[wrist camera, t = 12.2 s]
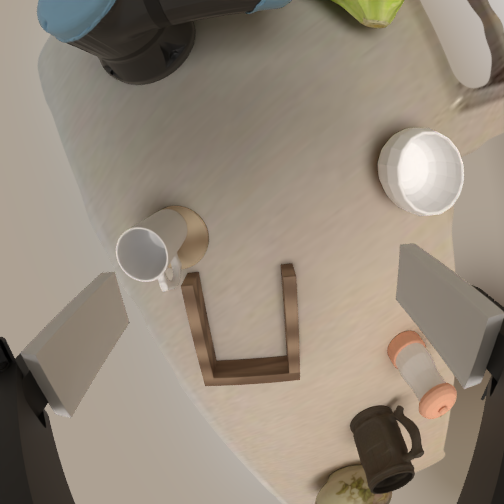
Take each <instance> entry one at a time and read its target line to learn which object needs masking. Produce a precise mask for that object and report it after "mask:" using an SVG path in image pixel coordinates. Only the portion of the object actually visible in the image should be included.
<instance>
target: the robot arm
mask: <svg viewBox="0 0 504 504" xmlns="http://www.w3.org/2000/svg"><path fill="white" fill-rule="evenodd" d="M291 1H292V0H39V1H38V7H37V16H38V20H39V23H40V25H41V27H42V28H43V29H44V30H45V31H46V32H48V33H50V34H51V35H53V36H55V37H56V39H58V40H59V41H61V42H64V43H68V44H70V45H72V46H75V47H77V48H80V49H82V50H84V51H86V52H89V53H91V54H93V55H95V56H98V58H99V60H100V62H101V64H102V66H103V68H104V69H105V70H106V71H107V72H108V73H109V74H110V75H111V76H112V77H114V78H116V79H118V80H120V81H122V82H125V83H128V84H135V85H141V84H148V83H152V82H155V81H158V80H160V79H163V78H164V77H166V76H168V75H169V74H171V73H172V72H174V71H175V70H176V69H177V68H178V67H179V66H180V65H181V64H182V63H183V62H184V61H185V59H186V58H187V57H188V55H189V53H190V51H191V49H192V47H193V44H194V40H195V26H194V23H193V21H195V20H200V19H205V18H211V17H217V16H223V15H229V14H236V13H244V12H245V13H246V14H251V13H254V12H256V11H261V10H270V9H278V8H282V7H284V6H285V5H287V4H288V3H290V2H291ZM396 300H397V301H398V302H399V303H400V305H401V306H402V307H403V308H404V310H405V311H406V312H407V313H408V315H409V316H410V317H411V318H412V320H413V321H414V322H415V323H416V325H417V326H418V327H419V328H420V330H421V331H422V332H423V334H424V335H425V336H426V337H427V339H428V340H429V341H430V343H431V344H432V345H433V347H434V348H435V349H436V351H437V352H438V353H439V355H440V356H441V357H442V359H443V360H444V361H445V363H446V364H447V366H448V367H449V368H450V370H451V371H452V372H453V374H454V375H455V377H456V378H457V380H458V381H459V382H460V384H461V385H462V387H463V388H464V389H466V388H468V387H471V386H473V385H476V384H479V383H481V381H482V378H483V376H484V373H485V371H486V369H487V370H488V371H489V372H490V373H491V375H492V376H491V378H490V380H489V383H488V385H487V387H486V389H485V391H484V394H483V396H482V398H481V399H482V400H483V399H484V398H485V396H486V401H485V406H484V412H483V417H482V422H481V426H480V431H479V435H478V439H477V443H476V447H475V450H474V454H473V458H472V461H471V465H470V468H469V471H468V474H467V477H466V480H465V483H464V486H463V489H462V491H461V494H460V497H459V499H458V502H457V504H504V307H502V306H501V305H500V304H499V303H498V302H496V301H494V299H492V298H491V297H490V296H488V294H486V293H485V292H484V291H483V290H481V289H480V288H478V287H475V286H473V285H471V284H469V283H468V282H466V281H465V280H464V279H462V278H461V277H460V276H459V275H457V274H456V273H455V272H453V271H452V270H451V269H449V268H448V267H447V266H445V265H444V264H443V263H441V262H440V261H438V260H437V259H436V258H434V257H433V256H432V255H430V254H429V253H427V252H426V251H424V250H423V249H422V248H420V247H419V246H417V245H416V244H414V243H412V244H403V245H400V255H399V270H398V282H397V292H396ZM128 324H129V319H128V316H127V313H126V310H125V306H124V303H123V300H122V296H121V293H120V289H119V286H118V283H117V279H116V275H115V272H109V273H101V274H100V275H99V276H98V277H97V278H95V280H93V281H92V282H91V283H90V284H89V285H88V286H87V287H86V288H85V289H84V290H82V291H81V292H80V293H79V294H78V295H77V296H76V297H75V298H74V299H73V300H72V301H71V302H70V303H69V304H68V305H67V306H66V307H65V308H64V309H63V310H62V311H61V312H60V313H59V314H58V315H57V316H56V317H55V318H54V319H53V320H52V321H51V322H50V323H49V324H48V325H47V326H46V327H45V328H44V329H43V330H42V331H41V332H40V333H39V334H38V335H37V336H36V337H35V338H34V339H33V340H32V341H31V342H30V343H29V344H28V345H27V346H26V348H25V349H24V350H23V351H22V352H21V353H20V354H19V355H18V356H17V357H16V359H15V358H14V356H13V354H12V352H11V350H10V348H9V346H8V344H7V342H6V339H5V338H3V337H0V504H75V502H74V500H73V497H72V495H71V492H70V489H69V486H68V484H67V481H66V478H65V475H64V472H63V469H62V465H61V462H60V459H59V456H58V452H57V449H56V445H55V441H54V437H53V433H52V429H51V425H50V420H49V416H48V414H47V412H46V411H45V410H44V408H45V407H46V405H47V403H49V405H50V406H51V408H52V409H53V411H54V412H55V414H57V415H61V416H66V417H70V418H71V417H72V416H73V414H74V412H75V410H76V409H77V407H78V405H79V403H80V402H81V400H82V398H83V397H84V395H85V393H86V391H87V389H88V388H89V386H90V385H91V383H92V381H93V380H94V378H95V376H96V375H97V373H98V371H99V370H100V368H101V367H102V365H103V363H104V362H105V360H106V359H107V357H108V355H109V354H110V352H111V351H112V349H113V347H114V346H115V344H116V343H117V341H118V339H119V338H120V337H121V335H122V333H123V332H124V330H125V329H126V327H127V326H128Z"/></svg>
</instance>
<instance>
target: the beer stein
mask: <svg viewBox="0 0 504 504" xmlns="http://www.w3.org/2000/svg"><path fill="white" fill-rule="evenodd" d="M403 410H404V408H403V407H402V406H399V405H398V406H397V408H396V410H395V411H394V412H392V410H391V409H390V408H389V407H386V406H376V407H371V408H368V409H366V410H364V411H362V412H361V413H359V414H358V415H357V416H356V417H355V418H354V419H353V420H352V422H351V425H350V427H351V431H352V432H353V434H354V441H355V444H356V447H357V450H358V454H359V457H360V461H361V464H362V467H363V469H364V471H365V474H366V478H367V482H368V487H369V489H370V491H371V493H373V494H384V493H388V492H391V491H394V490H396V489H399V488H401V487H403V486H404V485H406V484H407V483H408V482H409V481H411V480H412V479H413V477H414V474H415V473H414V467H413V465H412V464H411V460H412V459H414V458H419V457H421V456H422V455H423V454H424V451H423V449H422V445H421V437H420V432H419V429H418V427H417V426H416V425H415V423H414V422H413V421H411V420H410V419H409V418H407V417H406V416H404V414H403ZM396 420H398V421H399V422H400V423H401V424H402V425H403V426H404V427H405V428H406V429H407V431H408V433H409V434H410V437H411V440H412V449H411V451H410V452H408V449H407V446H406V444H405V441H404V439H403V436H402V434H401V430H400V428H399V426H398V423H397V421H396Z"/></svg>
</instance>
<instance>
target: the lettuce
mask: <svg viewBox="0 0 504 504" xmlns="http://www.w3.org/2000/svg"><path fill="white" fill-rule="evenodd" d="M331 1H333V2H335V3H337V4H339V5H340V6H342V7H343V8H344V9H345V10H346V11H348V12H349V13H350V14H351V15H352V16H353V17H354V18H355V19H356V20H357V21H359V22H360V23H361V24H363V25H365V26H367V27H372V28H384V27H386V26H388V25H389V24H390V23H391V22H392V21H393V19H394V18H395V15H396V13H397V11H398V10H399V8H400V7H401V5H402V4H403V2H404V0H331Z"/></svg>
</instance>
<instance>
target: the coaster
mask: <svg viewBox="0 0 504 504" xmlns="http://www.w3.org/2000/svg"><path fill="white" fill-rule="evenodd" d="M163 209H171V210H174V211H176V212H178V213H179V214H180V215H181V216H182V217H183V218H184V219H185V221H186V224H187V236H186V239H185V241H184V242H183V244H182V246H181V247H180V249H179V250H178V252H177V255H178V257H179V259H180V261H181V264H182V267H181V269H185V268H189V267H191V266H193V265H195V264H196V263H198V262H199V261H200V260H201V259H202V257H203V256H204V254H205V252H206V250H207V247H208V242H209V236H208V230H207V227H206V225H205V223H204V221H203V220H202V219H201V217H200V216H199V215H198V214H197V213H195V212H194V211H192V210H191V209H189V208H186V207H182V206H169V207H166V208H163ZM163 209H161V210H163ZM168 267H169V268H172V266H171V263H170V264H169V266H168Z"/></svg>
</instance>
